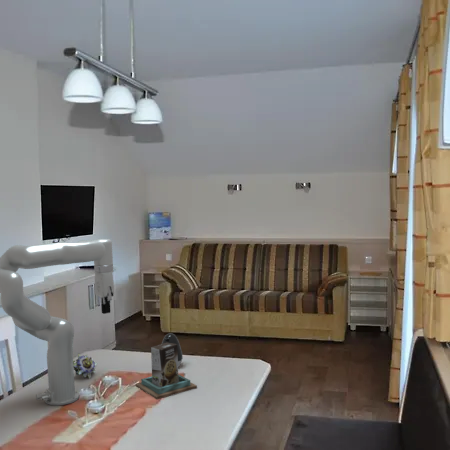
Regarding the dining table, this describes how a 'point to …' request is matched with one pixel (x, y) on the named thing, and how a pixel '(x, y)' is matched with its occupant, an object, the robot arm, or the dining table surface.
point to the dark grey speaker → (173, 339)
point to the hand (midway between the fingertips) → (106, 312)
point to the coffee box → (164, 364)
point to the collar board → (165, 387)
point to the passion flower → (84, 366)
